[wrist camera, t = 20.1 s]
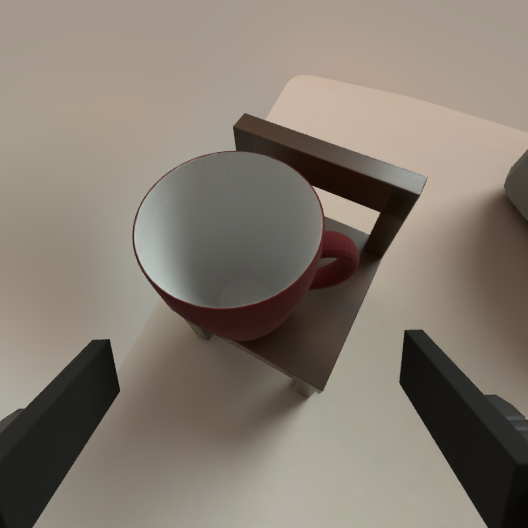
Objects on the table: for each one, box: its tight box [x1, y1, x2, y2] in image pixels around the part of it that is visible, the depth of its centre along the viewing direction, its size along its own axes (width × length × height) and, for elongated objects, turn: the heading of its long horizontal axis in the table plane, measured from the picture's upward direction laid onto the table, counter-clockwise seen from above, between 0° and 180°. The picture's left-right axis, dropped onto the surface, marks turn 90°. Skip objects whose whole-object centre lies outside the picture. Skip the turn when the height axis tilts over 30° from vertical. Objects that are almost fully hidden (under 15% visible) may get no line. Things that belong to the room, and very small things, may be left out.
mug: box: [132, 151, 359, 341], centre depth 18 cm, size 11×8×10 cm
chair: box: [166, 113, 427, 398], centre depth 24 cm, size 12×12×15 cm
